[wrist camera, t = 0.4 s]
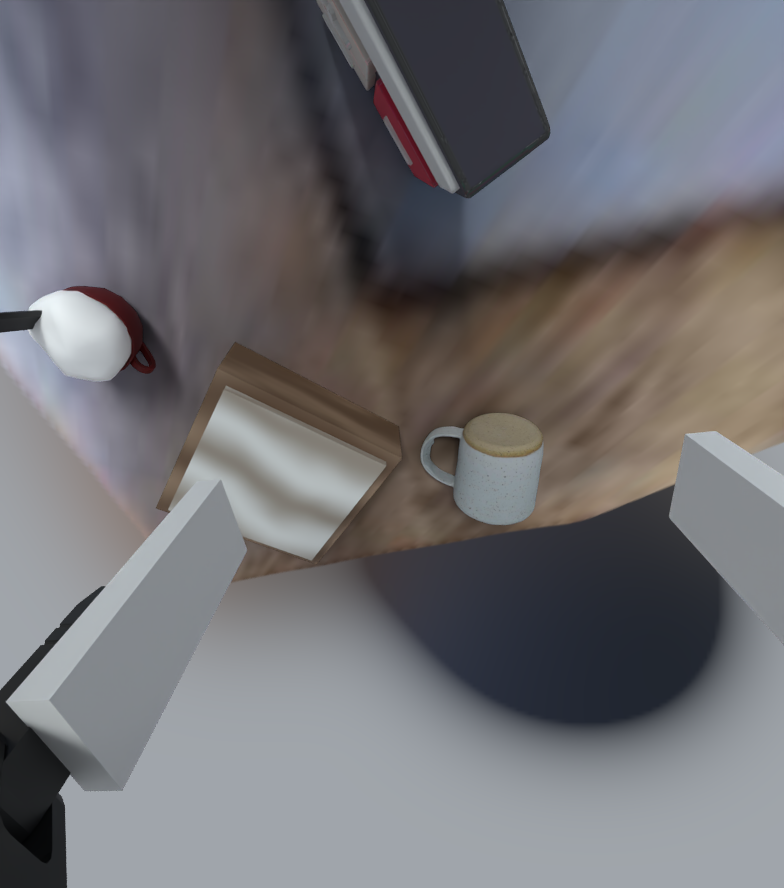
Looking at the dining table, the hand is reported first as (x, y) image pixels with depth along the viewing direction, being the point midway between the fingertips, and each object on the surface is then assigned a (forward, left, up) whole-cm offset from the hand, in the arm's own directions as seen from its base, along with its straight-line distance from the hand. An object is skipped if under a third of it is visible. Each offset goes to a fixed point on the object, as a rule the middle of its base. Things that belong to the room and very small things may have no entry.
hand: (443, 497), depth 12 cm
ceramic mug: (+9, +15, -25) cm, 30 cm away
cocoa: (+14, -18, -25) cm, 33 cm away
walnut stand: (+19, -1, -24) cm, 31 cm away
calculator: (-10, -7, -24) cm, 27 cm away
